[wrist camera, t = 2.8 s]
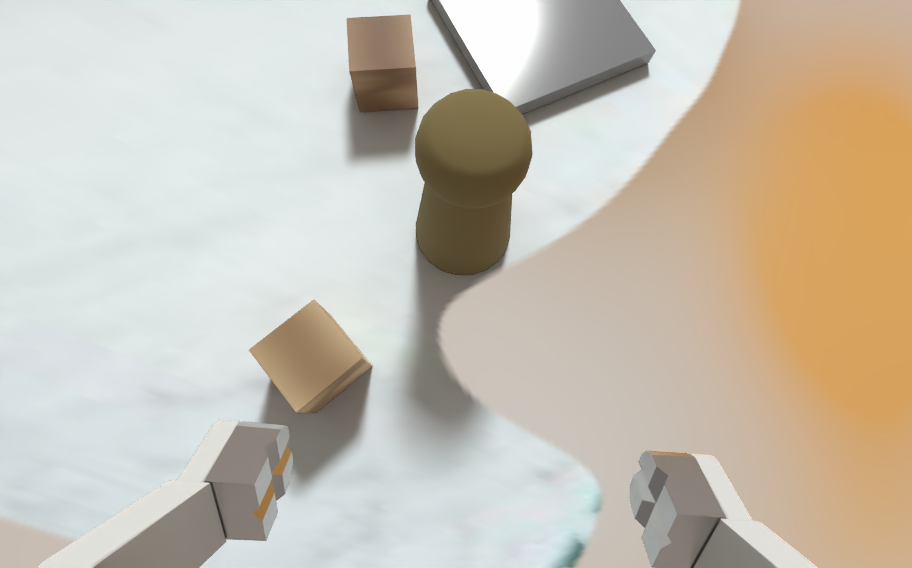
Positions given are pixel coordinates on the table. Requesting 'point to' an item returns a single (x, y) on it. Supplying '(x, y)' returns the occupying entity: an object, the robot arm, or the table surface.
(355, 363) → the oak block
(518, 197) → the table surface
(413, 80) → the walnut block
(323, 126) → the table surface
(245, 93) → the table surface
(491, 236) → the cork
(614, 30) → the coaster
